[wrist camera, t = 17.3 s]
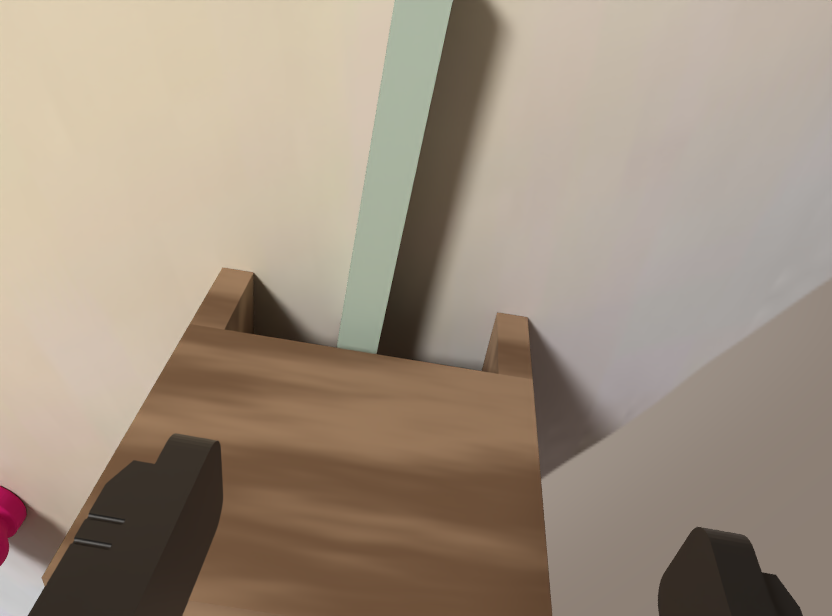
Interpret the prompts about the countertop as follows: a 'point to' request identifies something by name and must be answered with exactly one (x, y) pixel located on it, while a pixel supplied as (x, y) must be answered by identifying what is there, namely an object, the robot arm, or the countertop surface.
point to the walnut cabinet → (352, 472)
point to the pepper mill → (9, 519)
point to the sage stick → (392, 165)
